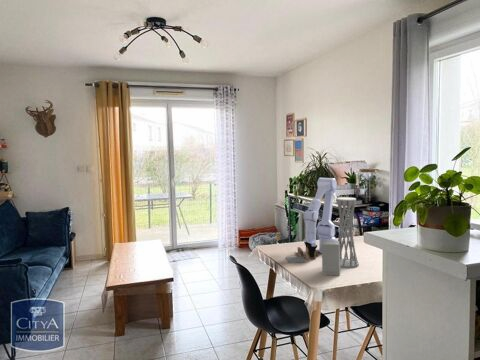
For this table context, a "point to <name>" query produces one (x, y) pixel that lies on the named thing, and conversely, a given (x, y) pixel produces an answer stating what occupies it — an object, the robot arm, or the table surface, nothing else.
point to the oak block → (309, 256)
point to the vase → (353, 259)
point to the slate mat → (295, 259)
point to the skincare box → (331, 258)
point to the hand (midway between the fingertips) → (310, 255)
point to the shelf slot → (303, 252)
